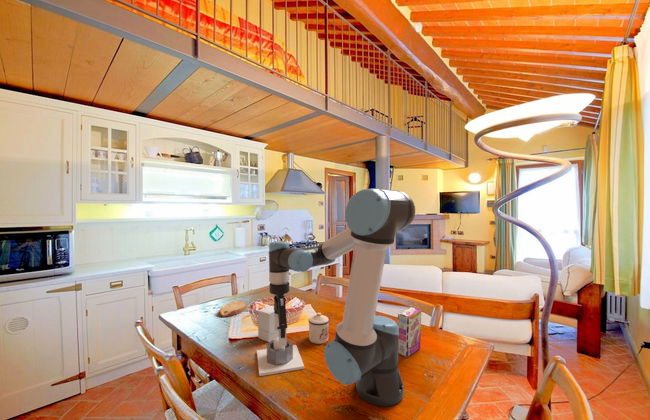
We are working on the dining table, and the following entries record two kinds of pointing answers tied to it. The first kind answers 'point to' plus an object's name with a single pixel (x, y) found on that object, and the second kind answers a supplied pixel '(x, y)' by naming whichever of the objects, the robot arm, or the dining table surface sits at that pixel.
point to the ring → (279, 354)
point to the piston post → (272, 369)
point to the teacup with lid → (318, 328)
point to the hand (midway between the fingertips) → (280, 337)
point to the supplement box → (267, 324)
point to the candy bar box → (409, 331)
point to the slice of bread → (232, 309)
